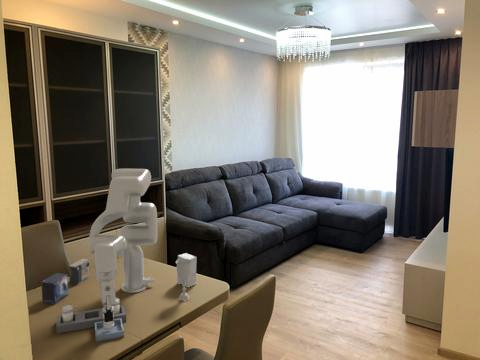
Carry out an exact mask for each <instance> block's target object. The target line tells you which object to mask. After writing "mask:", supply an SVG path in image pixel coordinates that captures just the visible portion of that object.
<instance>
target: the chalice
mask: <svg viewBox="0 0 480 360" xmlns="http://www.w3.org/2000/svg"><path fill="white" fill-rule="evenodd" d="M175 264H176V275H177V274H178V276H179V278H180V280H181V281H183V285H181V286H182V289H181V290H182V292H181V293H180V295H179V297H178V300H179V299H180V300H187V299H189V298H190V296H189V294H188V293H187V292H186V290H187V288H186V287H185V281H187V279H188V277H189V275H190V272H191V271H190V264H191V260H189V259H179V260H178V259H176V261H175ZM180 300H179V301H180ZM189 300H190V299H189Z"/></svg>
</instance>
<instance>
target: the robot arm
mask: <svg viewBox="0 0 480 360" xmlns="http://www.w3.org/2000/svg"><path fill="white" fill-rule="evenodd" d="M151 181H152V175H151V171H150V170H149V169H146V168H117V169H114V170H112V172H111V181H110V184H109V188H108V193H107V194H108V195H107V201H106V207H105V210H104V211H103V212H102V213H101V214H100V215H99V216H98V217H97V218H96V219H95V221H94V222H93V223H92V225H91V228H90V231H89V236H88V246H87V247H88V251H89V252H90V253H91V254H93V255H94V266H95V267H94V268H95V279H96V280H97V281H99V292H100V299H101V303H102V306H103V307H104V308H105V312H104V321H105V322H110V321H113V311H112V304H114V305H115V304H116V298H117V297H116V284H115V279H116V278H118V276H117V275H118V274H117V269H118V268H117V257H118V256H119V255H122V265H123V266H122V267H123V283H122V284H121V286H120V289H121V291H122V292H124V293H128V294H135V293H140V292H143V291H145V290H146V289H148V286H149V285H148V284H150V283H154V282H155V278H153V277H152V278H151V277H149V276H148V277H145V262H144V261H145V260H144V250H143V249H142V247H141V246H142V245H143V246H151V245H155V244H156V243H157V241H158V235H159V233H158V232H159V231H158V227H159V226H158V211H157V210H158V209H157V207H156V205H155V204H154V203H152V202H141V197H142V196H144V195H145V193H146V192H147V190H149V189H148V188H149V187H150V185H151ZM120 218H122V219H123V221H124V222H125V223H132V224H126V225H124V226H122V227H121V228H120V231H119V234H118V235H116V234H114V235H112V234H101V231H102V229H103V228H104V227H105V226H106V225H108V224H109V223H111V222H113V221H114V222H115V220H119V219H120ZM133 223H135V224H133ZM136 223H137V224H136ZM138 223H139V224H138ZM106 306H107V308H106ZM110 306H111V307H110ZM103 307H102V308H103Z"/></svg>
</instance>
